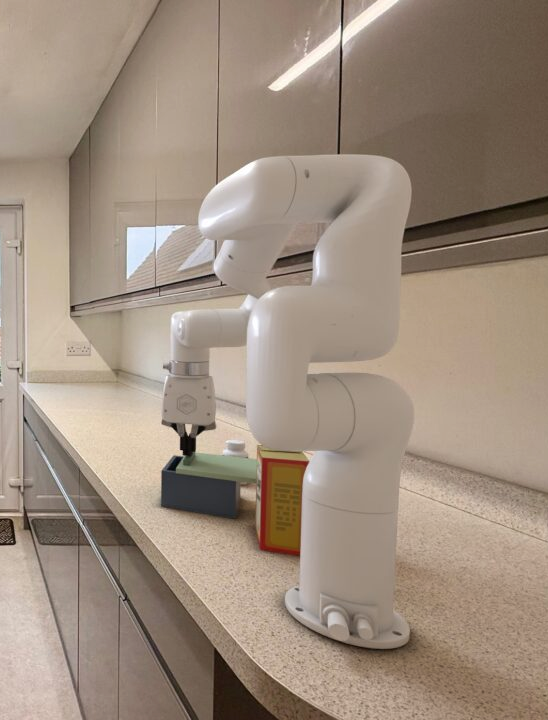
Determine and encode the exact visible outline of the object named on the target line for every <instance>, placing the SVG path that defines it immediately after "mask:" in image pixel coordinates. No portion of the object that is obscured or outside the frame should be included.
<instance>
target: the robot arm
mask: <svg viewBox="0 0 548 720" xmlns="http://www.w3.org/2000/svg"><path fill="white" fill-rule="evenodd" d="M412 191H413V190H412V183H411V177H410V175H409V173H408V172H407V170H406V169H405V167H404V165H402V164H401V163H399V162H398V161H397V160H394V159H393V158H390V157H387V156H383V155H375V154H359V153H358V154H356V153H355V154H353V153H351V154H348V153H346V154H345V153H342V154H340V153H339V154H314V155H278V156H267V157H261V158H258V159H255V160H253V161H251V162H249V163H248V164H246V165H244V166H243V167H241V168H240V169H238V170H237V171H235V172H234V173H232V174H230V175H228V176H227V177H226V178H224V179H223V180H221V181H220V182H218V183H217V184H216V185H215V186H214V187H212V188H211V190H210V191H209V192H208V193H207V195H206V196H205V198H204V199H203V202H202V203H201V206H200V208H199V211H198V215H197V216H198V217H197V223H198V229H199V232H200V234H201V236H202V237H204V239H207V240H209V241H223V242H222V245H221V247H220V249H219V250H218V254H217V255H216V258H215V259H214V262H213V265H212V266H213V272H214V274H215V275H216V277H217V278H218V279H219V280H220V282H222V283H224V284H225V285H226V286H229V287H230V288H232V289H234V290H236V291H238V292H239V291H240V292H242V293H244V294H246V295H247V296H246V297H245V299H244V301H243V303H242V304H241V305H240V307H238V308H209V309H206V308H205V309H203V308H202V309H189V310H179V311H175V312H173V314H171V318H170V351H169V353H170V360H169V361H168V362H165V363H164V362H163V364H162V369H163V370H166V371H168V372H169V374H167V375H165V379H164V382H163V389H162V399H161V400H162V401H161V425H163V426H165V427H168V428H172V430H174V432H175V433H176V434H177V435H178V437H179V451H182V456H186V455H188V456H191V455H192V454H193V452H196V451H197V437H198V436H200V435H201V434H202V433H203V432H207V431H215V430H216V429H217V422H216V415H217V414H216V411H217V409H216V390H215V383H214V379H213V376H212V375H210V350H211V349H212V348H213V349H214V348H241V347H246V355H245V357H246V359H245V361H246V362H245V363H246V364H245V365H246V366H245V370H246V371H245V413H246V414H245V415H246V420H247V424H248V429H249V430H250V433H251V435H252V436H253V438H254V439H255V440H256V441H257V442H258V444H259V445H263V446H264V447H266V448H269V449H272V450H276V451H302V452H314V453H313V455H312V457H311V458H310V460H309V461H310V462H309V464H308V466H307V468H306V471H305V473H304V478H303V490H302V517H301V550H300V556H299V559H300V560H299V585H296V586H293V587H291V588H290V589H288V590H287V591H286V593H285V595H284V604H285V605H284V606H285V608H286V610H287V611H288V613H289V614H290V615H291V616H292V617H293V618H294V619H295V620H296V621H298V622H299V623H300V624H302V625H303V626H305V627H307V628H308V629H310V630H312V631H314V632H316V633H318V634H320V635H322V636H324V637H326V638H329V639H332V640H334V641H338V642H340V643H344V644H348V645H351V646H355V647H360V648H365V649H376V650H390V649H395V648H401V647H402V646H405V645H406V644H408V642H409V641H410V635H411V630H410V625H409V623H408V621H407V620H406V619H405V618H404V617H403V616H402V615H401V614H400V613H399V612H397V611H396V610H395V609H394V608H395V607H394V606H395V605H394V604H395V583H396V563H397V561H396V560H397V540H398V539H397V538H398V518H399V517H398V515H399V505H400V504H399V502H400V486H401V475H402V468H403V464H404V463H403V462H404V458H405V455H406V450H407V448H408V444H409V442H410V438H411V436H412V432H413V429H414V423H415V422H414V421H415V408H414V404H413V401H412V399H411V398H412V397H410V395H409V393H408V391H406V389H405V388H404V387H402V385H400V384H399V383H398V382H396V381H394V380H393V379H391V378H389V377H385V376H383V375H379V374H374V373H368V372H319V373H309V366H310V364H313V363H314V364H316V363H317V364H319V363H351V362H365V361H366V362H367V361H373V360H376V359H380V358H383V357H384V356H386V355H388V354H389V353H390V352H391V351H392V350H393V349H394V347H395V346H396V343H397V341H398V337H399V332H400V331H399V330H400V319H401V317H400V316H401V295H402V294H401V290H402V248H403V241H404V240H403V239H404V233H405V228H406V223H407V222H408V221H407V220H408V216H409V213H410V210H411V209H410V208H411V203H412V193H413V192H412ZM319 223H320V224H321V223H322V224H323V223H324V224H325V223H330V225H328V227H327V228H326V229H325V230H324V232H323V233H322V235H321V237H320V238H319V240H318V241H317V243H316V245H315V248H314V251H313V255H312V277H311V284H304V285H303V284H302V285H285V286H279V287H276V288H271V286H270V283H269V282H268V279H267V277H268V275H269V273H270V272H271V271H272V269H273V267H274V265H275V264H276V262H277V260H278V259H279V257H280V255H281V253H282V252H283V250H284V249H285V247H286V246H287V243H288V242H289V240H290V238H291V237H292V235H293V234H294V232H295V230H296V228H297V226H298V225H299V224H319ZM186 425H191V429H190V433H189V434H188V431H187V428H186ZM196 453H197V452H196Z"/></svg>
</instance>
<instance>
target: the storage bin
mask: <svg viewBox="0 0 548 720" xmlns="http://www.w3.org/2000/svg"><path fill="white" fill-rule="evenodd" d="M183 457H184V456H183V455H176V454H175V455H172V457H171V458H170V459H169V460H168V462H167V463H166V464H165V466H164V467H163V468H162V469H161V471H160V472H161V473H160V474H161V475H160V476H161V477H160V478H161V479H160V483H161V484H160V495H161V496H160V506H161V507H162V508H169V509H175V510H180V511H181V510H182V511H187V512H194V513H199V514H205V515H210V516H216V517H222V518H227V519H234V520H235V519H236V517H237V514H238V510H239V505H240V501H241V486H242V485H241V482H239V481H231V480H224V479H216V478H209V477H201V476H194V475H186V474H179V473H176V468H177V466H178V465H179V463H180V462H181V460H182V459H183Z"/></svg>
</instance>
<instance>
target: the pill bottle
mask: <svg viewBox="0 0 548 720" xmlns="http://www.w3.org/2000/svg"><path fill="white" fill-rule="evenodd" d="M245 449H246V441H244V440H239V439H227V440H226V441H225V449H223V450H222V455H223V456H232V457H241V458H249V453H248V452H247V451H246V450H245ZM244 485H248V483H246V482H241V486H244Z"/></svg>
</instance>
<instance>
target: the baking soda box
mask: <svg viewBox="0 0 548 720" xmlns="http://www.w3.org/2000/svg"><path fill="white" fill-rule="evenodd" d="M256 459H257V474H256V484H255V519H254V520H255V521H254V522H255V523H254V524H255V525H254V527H255V528H254V530H255V533H256V537H257V542H258V546H259V550H261V551H262V550H263V551H267V552H274V553H281V554H287V555H293V556H299V557H300V550H301V517H302V490H303V478H304V473H305V471H306V468H307V466H308V464H309V462H310V460H309V459H308V457H307V456H306V454H305V453H304V451H276V450H272V449H269V448H266V447H264V446H263V445H261V444H256Z"/></svg>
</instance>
